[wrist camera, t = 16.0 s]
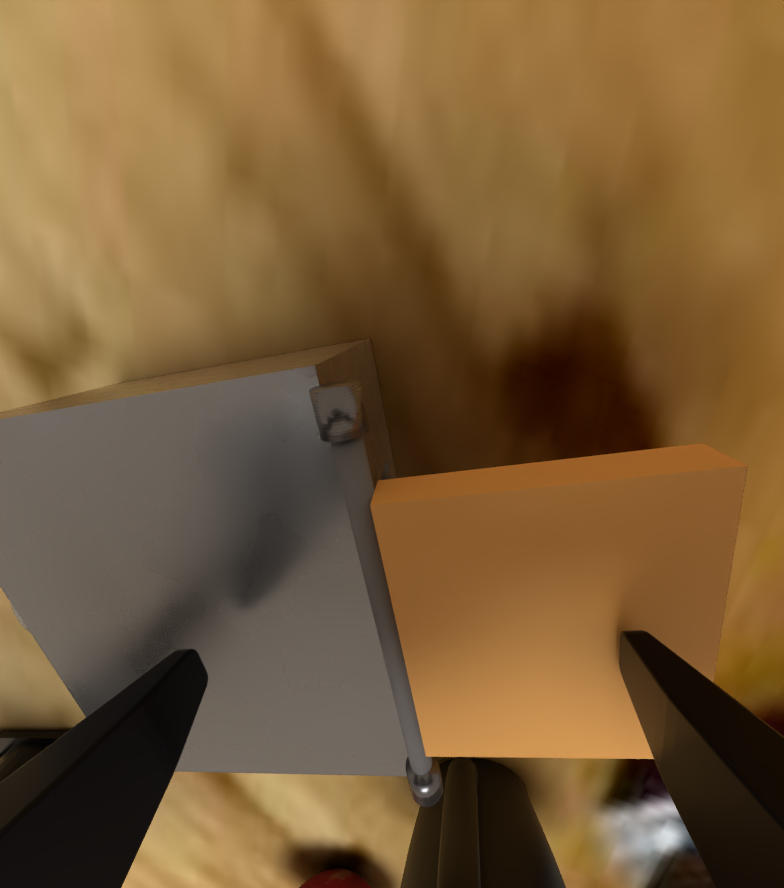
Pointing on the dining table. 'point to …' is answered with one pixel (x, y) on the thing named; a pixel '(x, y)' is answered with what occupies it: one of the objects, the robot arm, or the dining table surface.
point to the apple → (336, 880)
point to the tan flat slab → (540, 592)
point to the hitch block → (212, 555)
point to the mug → (480, 833)
